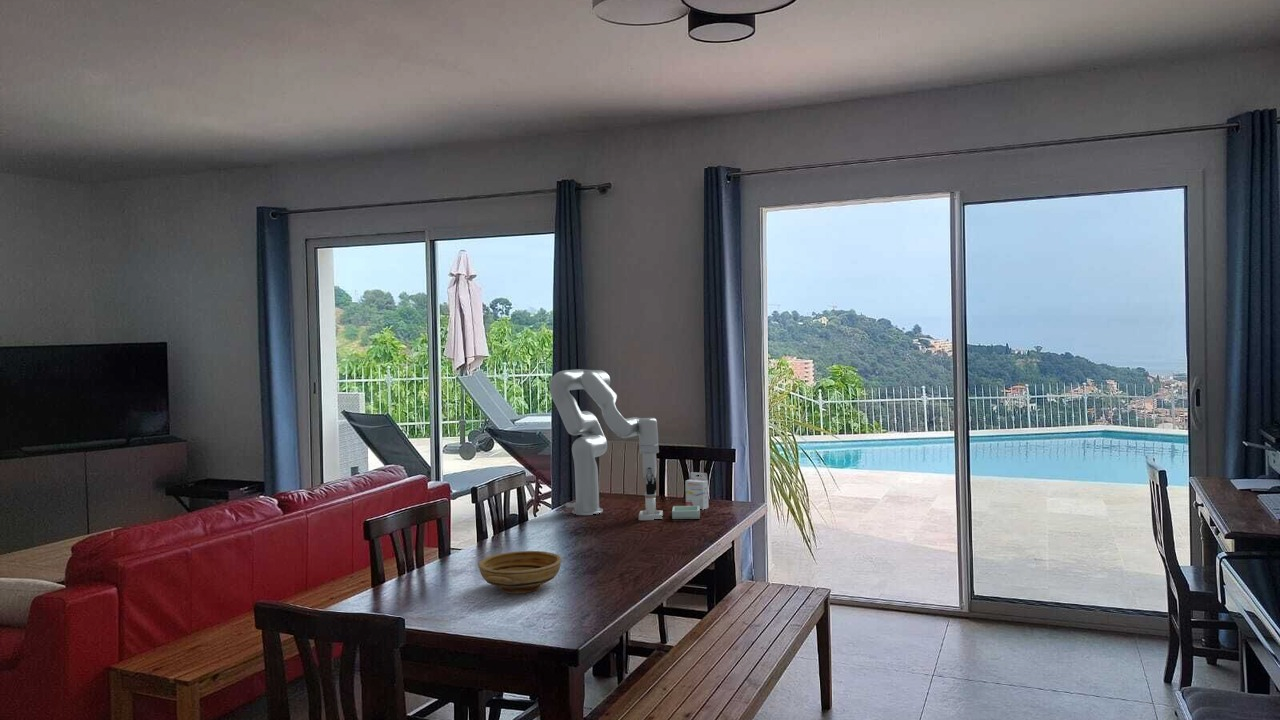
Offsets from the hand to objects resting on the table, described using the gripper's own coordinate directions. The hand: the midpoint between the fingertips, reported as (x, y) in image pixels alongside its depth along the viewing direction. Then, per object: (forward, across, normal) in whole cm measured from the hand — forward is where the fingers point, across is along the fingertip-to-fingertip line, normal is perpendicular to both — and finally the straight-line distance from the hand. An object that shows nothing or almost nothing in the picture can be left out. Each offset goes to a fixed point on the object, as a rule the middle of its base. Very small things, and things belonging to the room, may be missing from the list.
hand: (651, 492), depth 349 cm
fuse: (+10, 0, -1) cm, 10 cm away
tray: (+11, 0, +13) cm, 17 cm away
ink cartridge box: (+11, -18, +17) cm, 27 cm away
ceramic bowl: (+11, +97, -32) cm, 102 cm away
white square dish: (+10, 0, -1) cm, 10 cm away
